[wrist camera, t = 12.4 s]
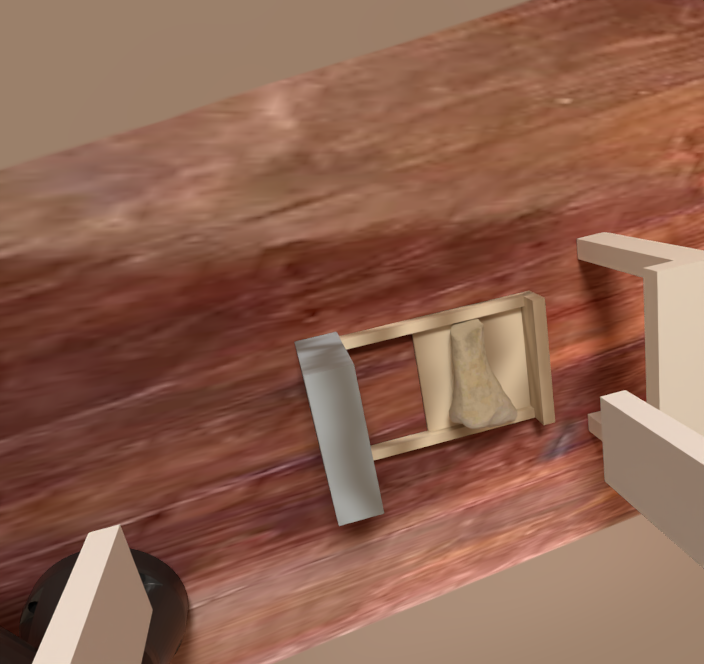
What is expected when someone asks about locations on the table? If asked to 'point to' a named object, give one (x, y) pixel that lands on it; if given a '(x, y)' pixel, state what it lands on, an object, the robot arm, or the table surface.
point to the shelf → (662, 320)
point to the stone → (476, 381)
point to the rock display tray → (436, 388)
